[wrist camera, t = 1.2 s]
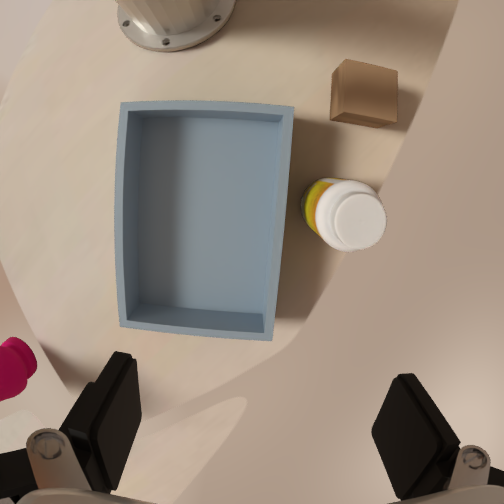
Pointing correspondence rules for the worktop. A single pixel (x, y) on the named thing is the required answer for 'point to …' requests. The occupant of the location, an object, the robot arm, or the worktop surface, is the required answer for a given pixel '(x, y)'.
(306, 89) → the worktop surface
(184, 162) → the tote
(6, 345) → the pepper mill
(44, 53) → the worktop surface
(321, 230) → the supplement bottle
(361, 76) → the walnut cube
